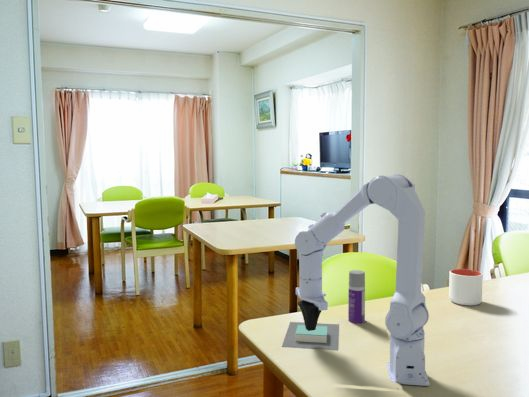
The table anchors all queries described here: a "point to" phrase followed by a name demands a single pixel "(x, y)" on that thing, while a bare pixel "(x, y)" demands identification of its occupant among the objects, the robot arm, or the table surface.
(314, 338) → the tile
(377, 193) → the robot arm
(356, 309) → the container
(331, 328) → the mat
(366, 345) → the table surface
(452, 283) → the cup
